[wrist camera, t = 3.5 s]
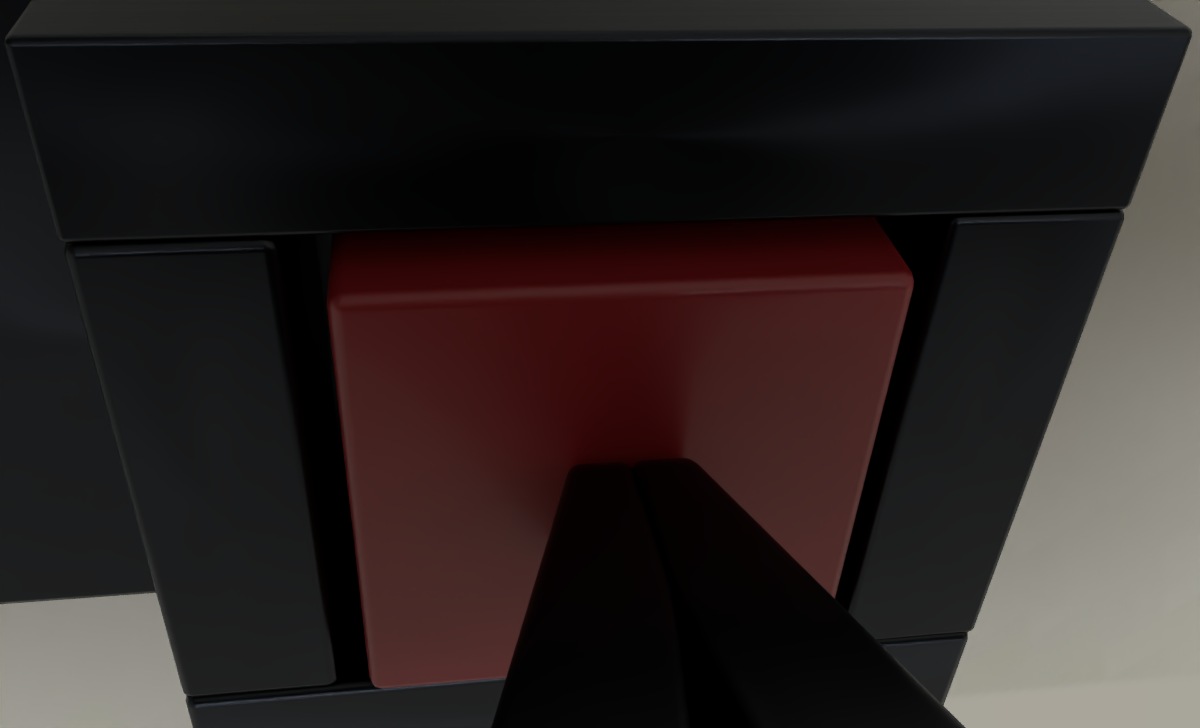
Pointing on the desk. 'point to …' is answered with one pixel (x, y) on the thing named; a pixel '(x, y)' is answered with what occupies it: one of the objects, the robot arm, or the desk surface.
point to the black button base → (502, 201)
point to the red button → (592, 400)
